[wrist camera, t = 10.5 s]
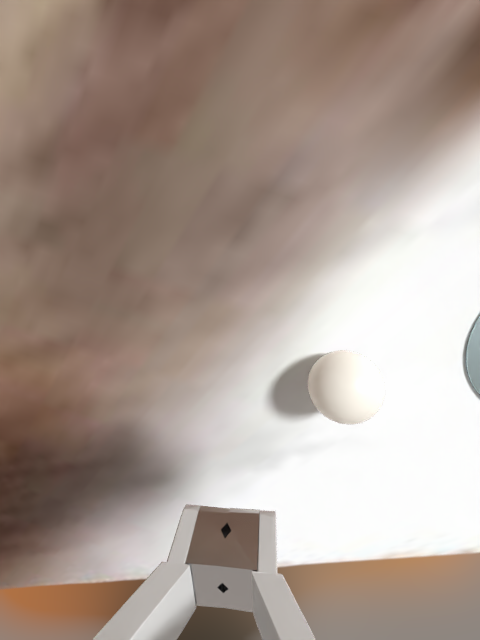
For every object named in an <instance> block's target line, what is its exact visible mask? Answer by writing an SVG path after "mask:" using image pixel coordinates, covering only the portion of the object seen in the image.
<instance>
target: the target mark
mask: <svg viewBox="0 0 480 640" xmlns="http://www.w3.org/2000/svg"><path fill="white" fill-rule="evenodd" d="M466 365H467V371H468V375H469V378H470V381H471V383H472V384H473V386H474V388H475V389H476V391H477V392H478V393H479V394H480V316H479V318H478V320H477V321H476V323H475V325H474V327H473V330H472V332H471V335H470V338H469V341H468V345H467V351H466Z"/></svg>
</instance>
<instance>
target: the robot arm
mask: <svg viewBox="0 0 480 640" xmlns="http://www.w3.org/2000/svg"><path fill="white" fill-rule="evenodd" d="M196 605H197V606H209V607H220V608H229V609H235V610H242V611H248V612H253V613H254V617H255V620H256V623H257V626H258V629H259V632H260V634H261V638H262V640H316V639H315V637H314V636H313V634H312V632H311V630H310V628H309V626H308V624H307V622H306V620H305V618H304V616H303V614H302V612H301V610H300V608H299V606H298V604H297V602H296V600H295V598H294V596H293V594H292V592H291V590H290V588H289V586H288V584H287V583H286V581H285V579H284V577H283V575H282V574H278V573H277V538H276V512H275V511H260V510H255V509H237V508H230V509H229V508H218V507H208V506H199V505H186V506H185V508H184V509H183V512H182V515H181V518H180V521H179V525H178V528H177V531H176V534H175V537H174V540H173V544H172V547H171V550H170V553H169V556H168V560H167V562H161V564H160V565H159V566H158V567H157V568H156V569H155V570H154V571H153V572H152V574H151V575H150V576H149V577H148V578H147V579H146V580H145V582H144V583H143V584H142V585H141V586H140V587H139V588H138V589H137V590H136V592H135V593H134V594H133V595H132V596H131V597H130V598H129V599H128V600H127V602H126V603H125V604H124V605H123V606H122V607H121V608H120V609H119V610H118V612H117V613H116V614H115V615H114V616H113V617H112V618H111V619H110V621H109V622H108V623H107V624H106V625H105V626H104V627H103V629H101V631H100V632H99V633H98V634H97V635H96V636H95V637H94V638H93V640H177V638H178V637H179V635H180V633H181V632H182V630H183V629H184V627H185V625H186V624H187V622H188V621H189V619H190V617H191V616H192V614H193V612H194V611H195V609H196Z"/></svg>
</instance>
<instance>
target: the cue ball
mask: <svg viewBox="0 0 480 640" xmlns="http://www.w3.org/2000/svg"><path fill="white" fill-rule="evenodd" d="M308 391H309V395H310V398H311V400H312V402H313V404H314V405H315V407H316V408H317V409H318V410H319V412H321V413H322V414H323V415H324V416H325V417H327V418H328V419H330V420H332V421H335V422H338V423H341V424H358V423H362V422H364V421H367V420H369V419H370V418H371V417H373V416H374V415H375V414H376V413H377V412H378V411H379V409H380V408H381V406H382V403H383V400H384V396H385V385H384V381H383V378H382V375H381V373H380V372H379V370H378V368H377V367H376V366H375V365H374V364H373V363H372V362H371V361H370V360H369V359H368V358H366V357H365V356H363V355H361V354H358V353H356V352H352V351H345V350H340V351H334V352H330V353H328V354H326V355H324V356H322V357H321V358H320V359H318V360H317V362H316V363H315V364H314V365H313V367H312V368H311V371H310V373H309V377H308Z"/></svg>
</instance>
